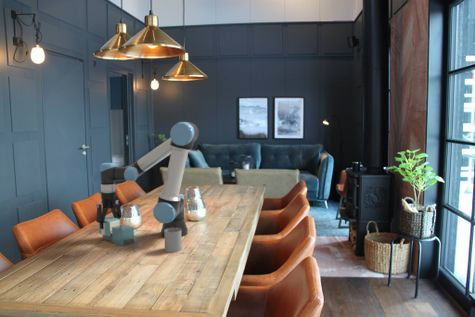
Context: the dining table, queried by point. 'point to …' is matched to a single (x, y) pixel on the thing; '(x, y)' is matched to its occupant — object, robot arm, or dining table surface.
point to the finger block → (109, 225)
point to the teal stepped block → (121, 235)
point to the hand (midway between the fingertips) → (109, 232)
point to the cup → (173, 240)
